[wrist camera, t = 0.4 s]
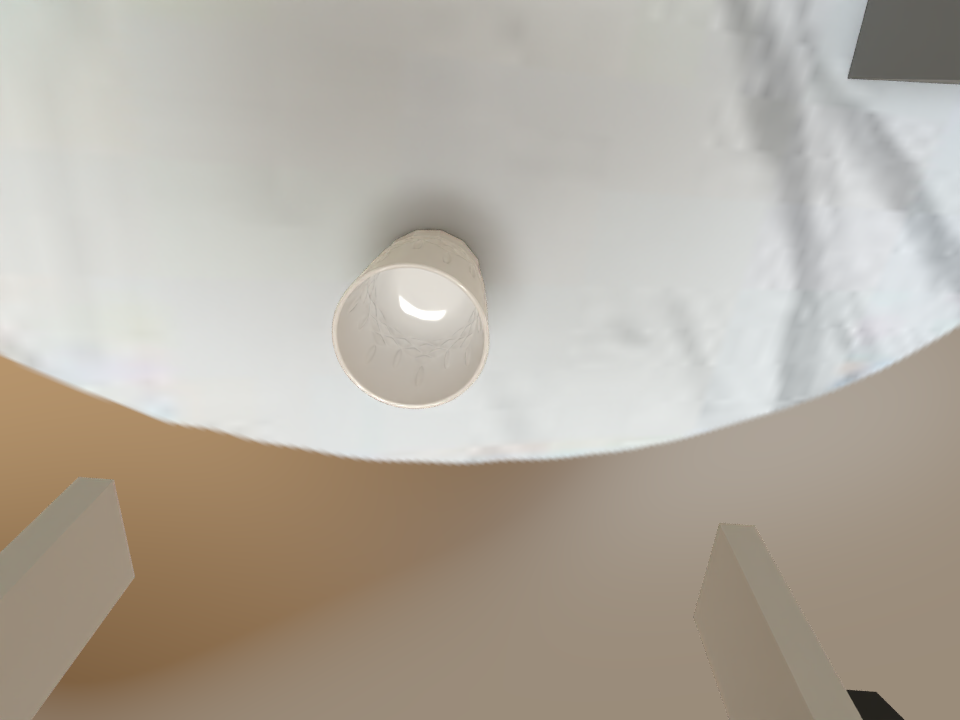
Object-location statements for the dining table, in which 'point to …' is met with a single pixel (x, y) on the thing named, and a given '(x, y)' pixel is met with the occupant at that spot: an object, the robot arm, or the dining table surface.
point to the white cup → (415, 322)
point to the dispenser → (909, 42)
